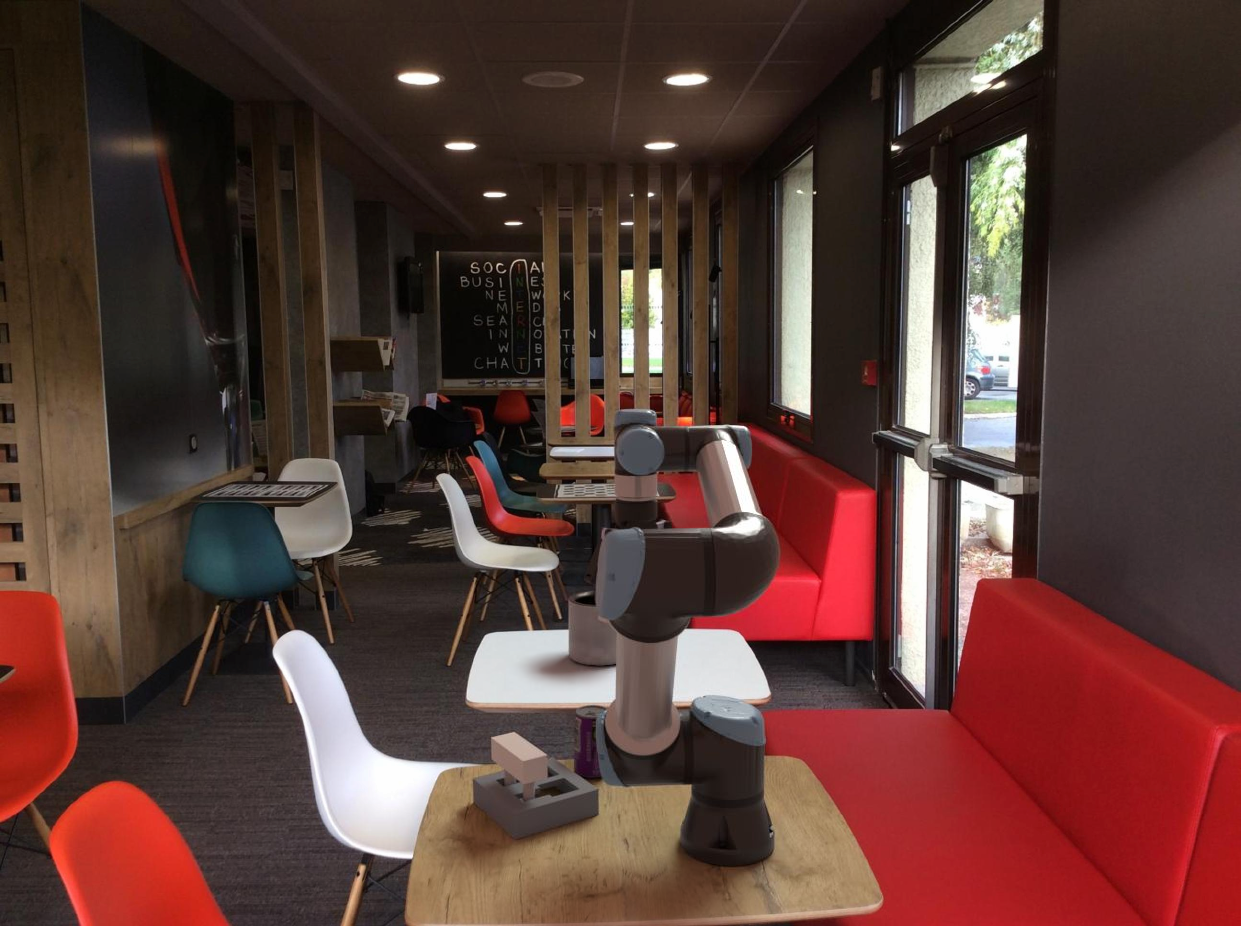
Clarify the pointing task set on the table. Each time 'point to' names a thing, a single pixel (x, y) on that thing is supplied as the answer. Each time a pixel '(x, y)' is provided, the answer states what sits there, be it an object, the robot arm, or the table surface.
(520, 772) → the bar
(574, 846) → the table surface
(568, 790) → the keyhole board
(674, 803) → the table surface
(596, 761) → the beverage can
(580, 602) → the planter
